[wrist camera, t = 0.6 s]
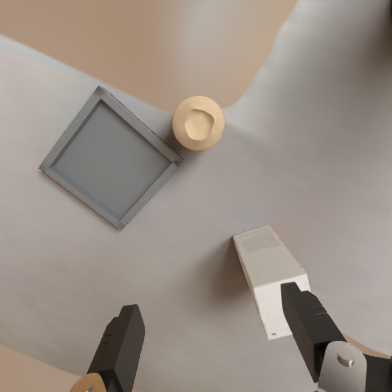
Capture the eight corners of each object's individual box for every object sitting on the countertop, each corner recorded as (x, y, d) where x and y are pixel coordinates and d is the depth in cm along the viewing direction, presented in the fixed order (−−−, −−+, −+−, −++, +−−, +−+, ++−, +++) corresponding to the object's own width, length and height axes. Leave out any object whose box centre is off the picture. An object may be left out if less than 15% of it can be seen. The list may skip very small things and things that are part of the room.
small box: (279, 264, 40) (320, 328, 27) (244, 274, 40) (267, 342, 28) (269, 222, 38) (308, 273, 25) (231, 234, 38) (251, 289, 26)
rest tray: (104, 87, 31) (98, 85, 29) (183, 159, 34) (182, 161, 32) (46, 165, 34) (38, 168, 32) (124, 224, 37) (120, 230, 35)
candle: (170, 110, 32) (162, 106, 22) (208, 95, 32) (216, 85, 22) (184, 148, 34) (182, 160, 24) (221, 135, 33) (233, 141, 24)
